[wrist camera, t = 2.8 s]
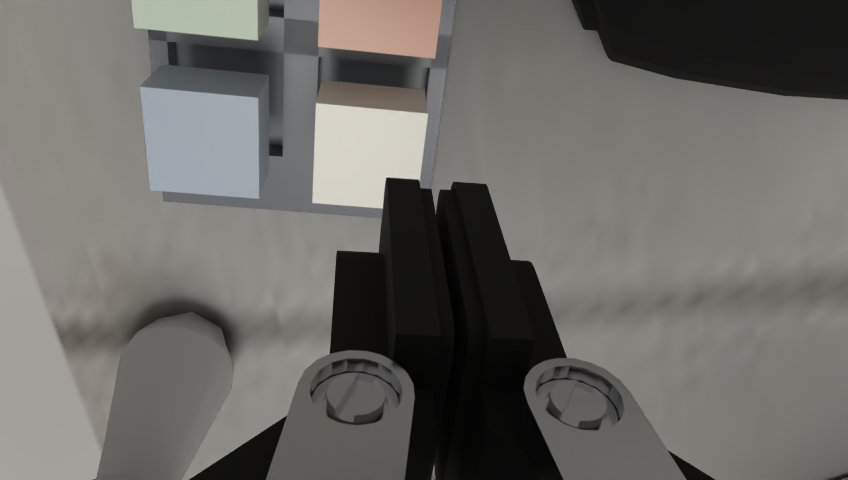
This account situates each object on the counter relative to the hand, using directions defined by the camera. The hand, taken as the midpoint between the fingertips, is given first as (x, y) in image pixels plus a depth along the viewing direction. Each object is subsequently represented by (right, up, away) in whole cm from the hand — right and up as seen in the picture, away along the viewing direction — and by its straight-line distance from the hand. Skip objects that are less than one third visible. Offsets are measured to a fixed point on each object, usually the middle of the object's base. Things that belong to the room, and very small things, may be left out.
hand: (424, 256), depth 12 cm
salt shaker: (-13, -5, +26) cm, 30 cm away
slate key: (-8, +6, +16) cm, 19 cm away
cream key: (-2, +5, +17) cm, 18 cm away
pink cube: (-2, +10, +14) cm, 17 cm away
